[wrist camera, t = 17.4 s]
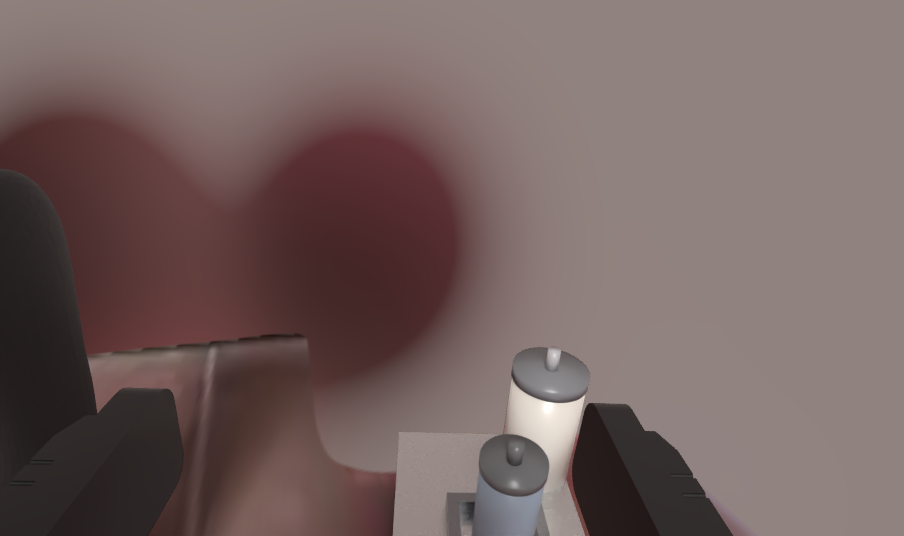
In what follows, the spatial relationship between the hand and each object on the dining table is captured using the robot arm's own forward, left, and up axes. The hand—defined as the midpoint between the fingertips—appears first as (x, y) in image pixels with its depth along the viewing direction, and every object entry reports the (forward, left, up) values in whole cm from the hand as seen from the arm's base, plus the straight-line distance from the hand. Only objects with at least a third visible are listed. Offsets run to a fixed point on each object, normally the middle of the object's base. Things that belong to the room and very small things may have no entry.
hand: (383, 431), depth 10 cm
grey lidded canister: (+9, +20, -31) cm, 38 cm away
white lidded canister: (+14, +31, -31) cm, 46 cm away
